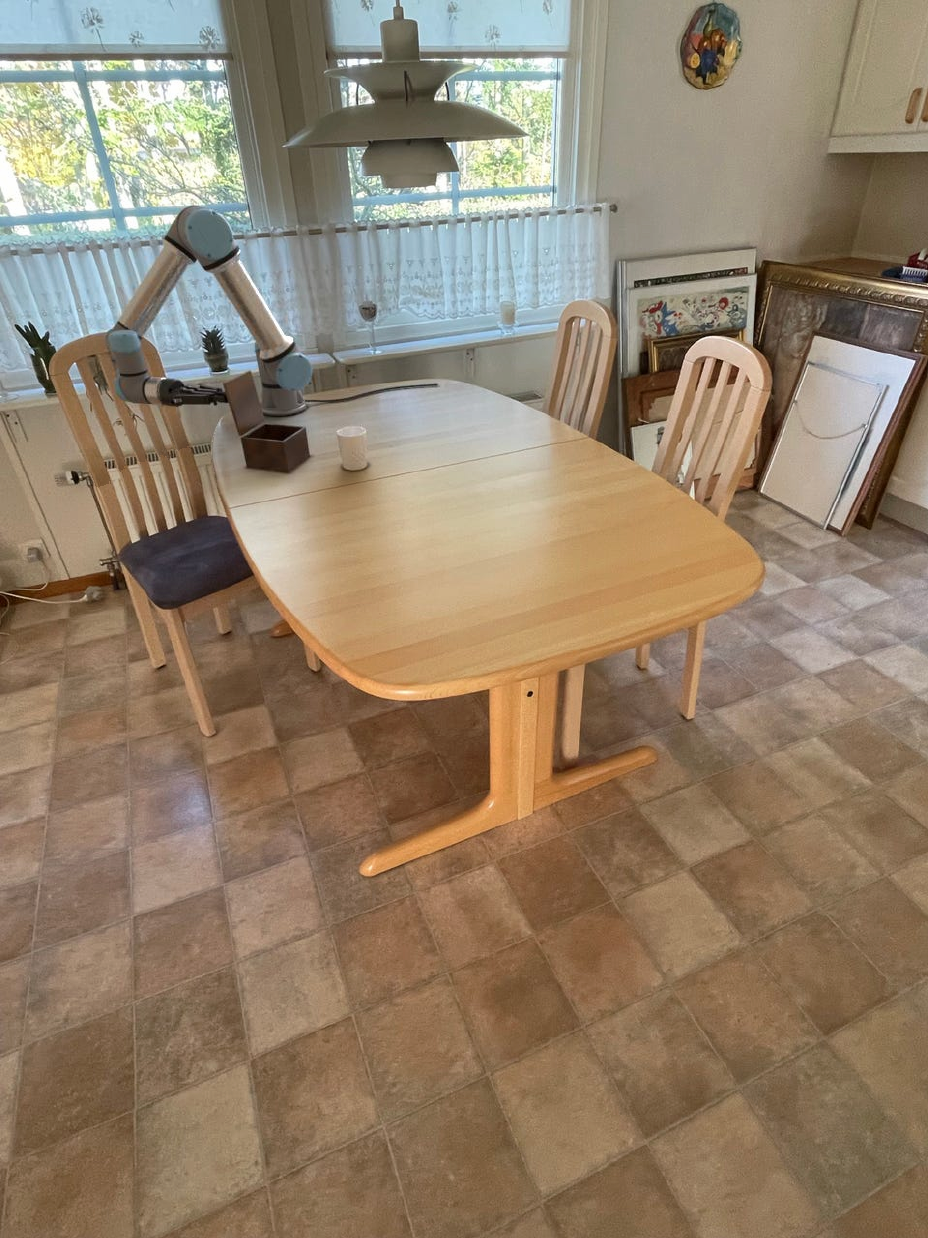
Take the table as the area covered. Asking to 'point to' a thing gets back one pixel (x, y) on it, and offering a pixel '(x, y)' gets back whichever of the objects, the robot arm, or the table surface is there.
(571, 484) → the table surface
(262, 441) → the tea box
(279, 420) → the table surface
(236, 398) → the lid
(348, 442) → the white cup
